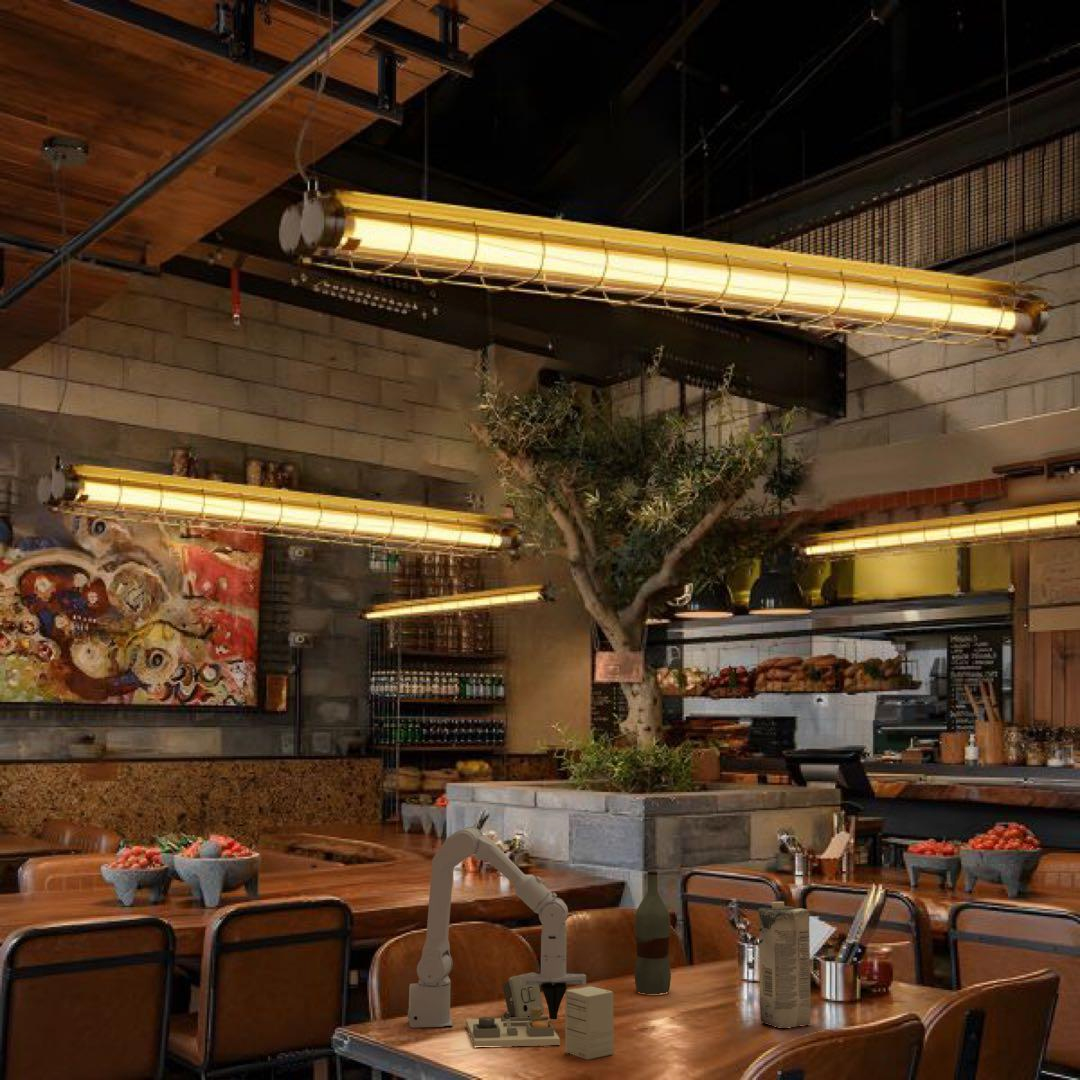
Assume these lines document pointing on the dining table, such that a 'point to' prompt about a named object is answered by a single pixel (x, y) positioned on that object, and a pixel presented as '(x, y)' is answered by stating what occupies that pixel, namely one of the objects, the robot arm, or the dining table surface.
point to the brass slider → (535, 1014)
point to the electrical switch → (521, 997)
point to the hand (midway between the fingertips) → (553, 1018)
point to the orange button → (539, 1024)
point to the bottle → (652, 941)
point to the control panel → (512, 1033)
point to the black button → (486, 1022)
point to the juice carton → (784, 965)
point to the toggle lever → (508, 1020)
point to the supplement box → (589, 1022)
